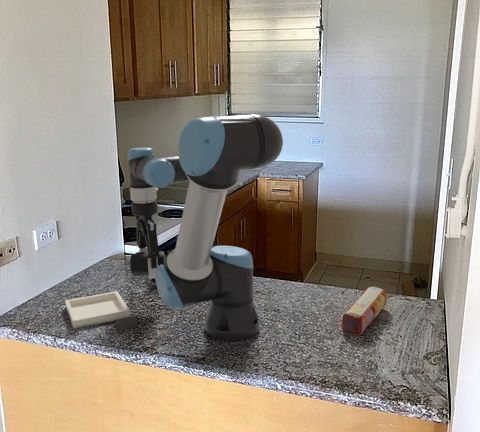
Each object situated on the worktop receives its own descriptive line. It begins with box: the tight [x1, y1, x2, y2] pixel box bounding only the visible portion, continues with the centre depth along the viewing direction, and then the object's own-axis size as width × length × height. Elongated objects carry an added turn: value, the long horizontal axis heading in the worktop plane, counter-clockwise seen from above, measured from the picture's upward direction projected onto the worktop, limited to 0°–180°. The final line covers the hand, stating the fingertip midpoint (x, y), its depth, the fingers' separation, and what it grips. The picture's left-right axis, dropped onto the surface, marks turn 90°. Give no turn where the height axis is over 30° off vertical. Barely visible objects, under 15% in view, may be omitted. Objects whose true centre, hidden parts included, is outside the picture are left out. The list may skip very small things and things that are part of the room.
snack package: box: [341, 286, 388, 336], centre depth 149 cm, size 21×7×7 cm, turn 148°
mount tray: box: [64, 290, 131, 330], centre depth 157 cm, size 16×16×2 cm
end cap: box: [129, 250, 166, 277], centre depth 159 cm, size 10×7×7 cm
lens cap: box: [114, 317, 139, 331], centre depth 150 cm, size 6×6×1 cm
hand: (149, 273), depth 159 cm, fingers closed on end cap, 9 cm apart
